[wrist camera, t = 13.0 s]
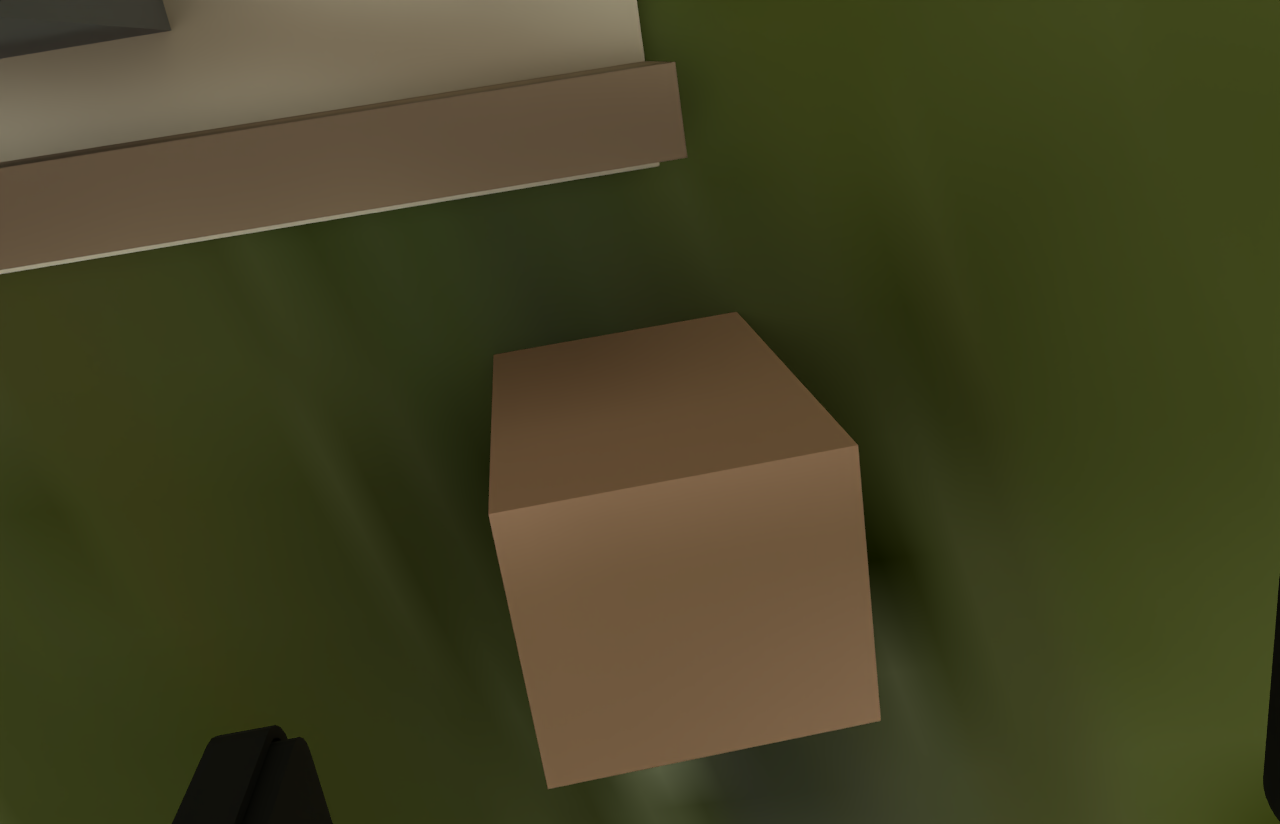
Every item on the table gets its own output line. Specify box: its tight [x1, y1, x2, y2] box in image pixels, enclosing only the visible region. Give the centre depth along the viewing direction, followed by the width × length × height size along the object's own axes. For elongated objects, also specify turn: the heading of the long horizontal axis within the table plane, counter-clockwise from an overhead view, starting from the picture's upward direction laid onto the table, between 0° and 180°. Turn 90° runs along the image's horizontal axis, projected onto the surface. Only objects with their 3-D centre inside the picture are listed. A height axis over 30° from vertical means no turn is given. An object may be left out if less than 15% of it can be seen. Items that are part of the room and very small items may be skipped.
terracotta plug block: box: [488, 312, 881, 789], centre depth 16 cm, size 4×4×7 cm
